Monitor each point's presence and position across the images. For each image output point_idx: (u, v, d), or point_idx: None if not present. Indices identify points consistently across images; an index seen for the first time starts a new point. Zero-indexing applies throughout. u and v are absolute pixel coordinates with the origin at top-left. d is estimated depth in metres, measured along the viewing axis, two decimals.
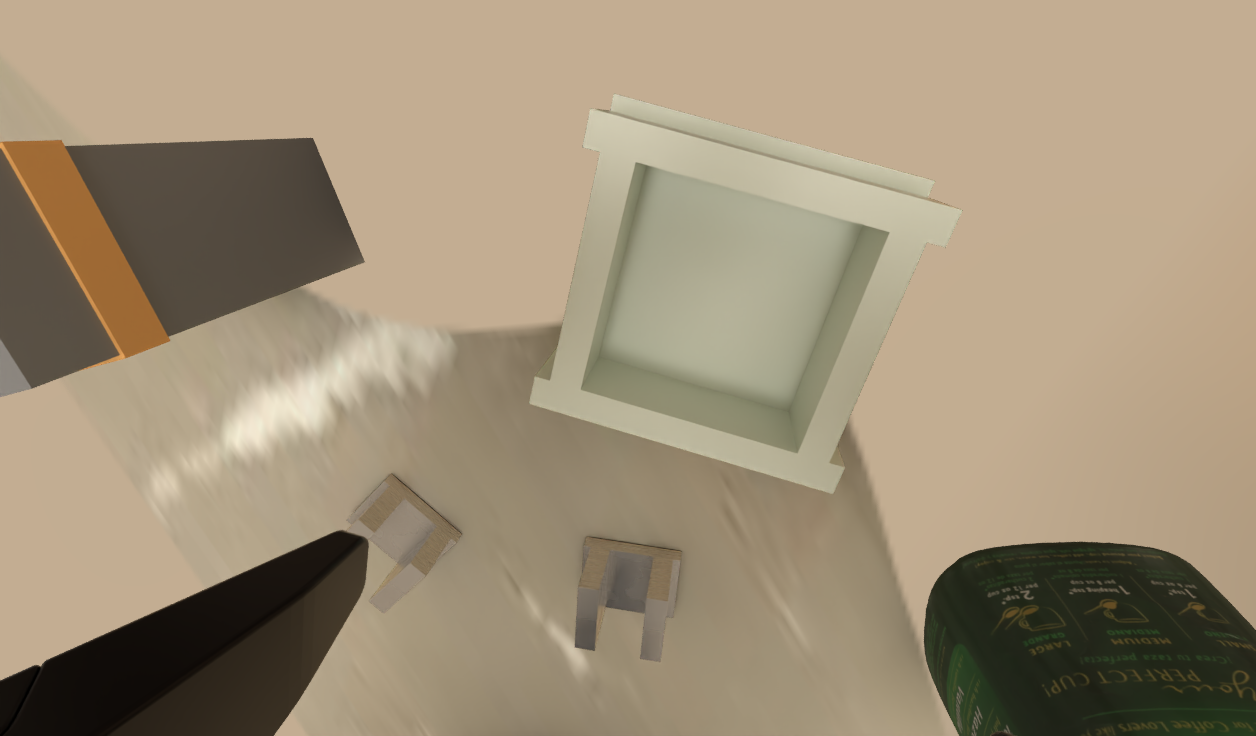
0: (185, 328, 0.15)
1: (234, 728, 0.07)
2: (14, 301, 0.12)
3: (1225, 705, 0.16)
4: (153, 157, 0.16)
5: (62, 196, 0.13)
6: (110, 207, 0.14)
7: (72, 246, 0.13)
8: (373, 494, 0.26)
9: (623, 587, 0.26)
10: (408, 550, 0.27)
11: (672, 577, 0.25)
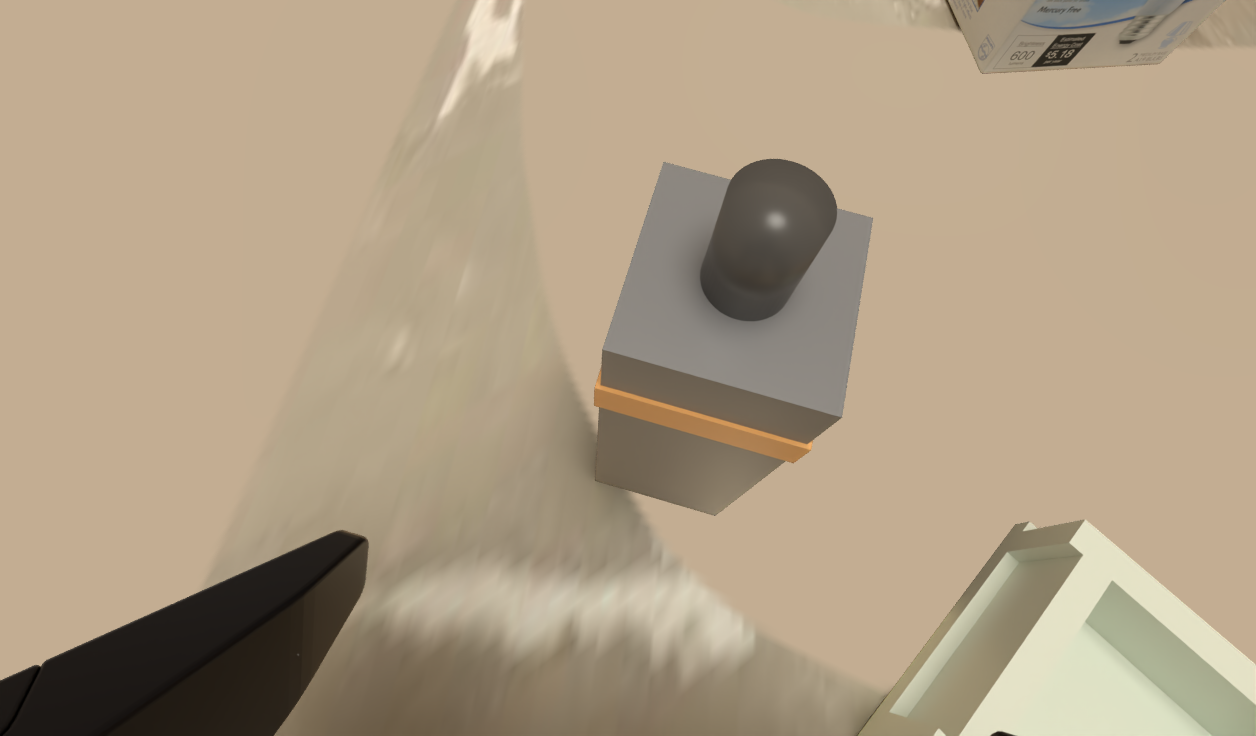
0: (782, 462, 0.15)
1: (234, 728, 0.07)
2: None
3: None
4: None
5: None
6: None
7: None
8: None
9: None
10: None
11: None
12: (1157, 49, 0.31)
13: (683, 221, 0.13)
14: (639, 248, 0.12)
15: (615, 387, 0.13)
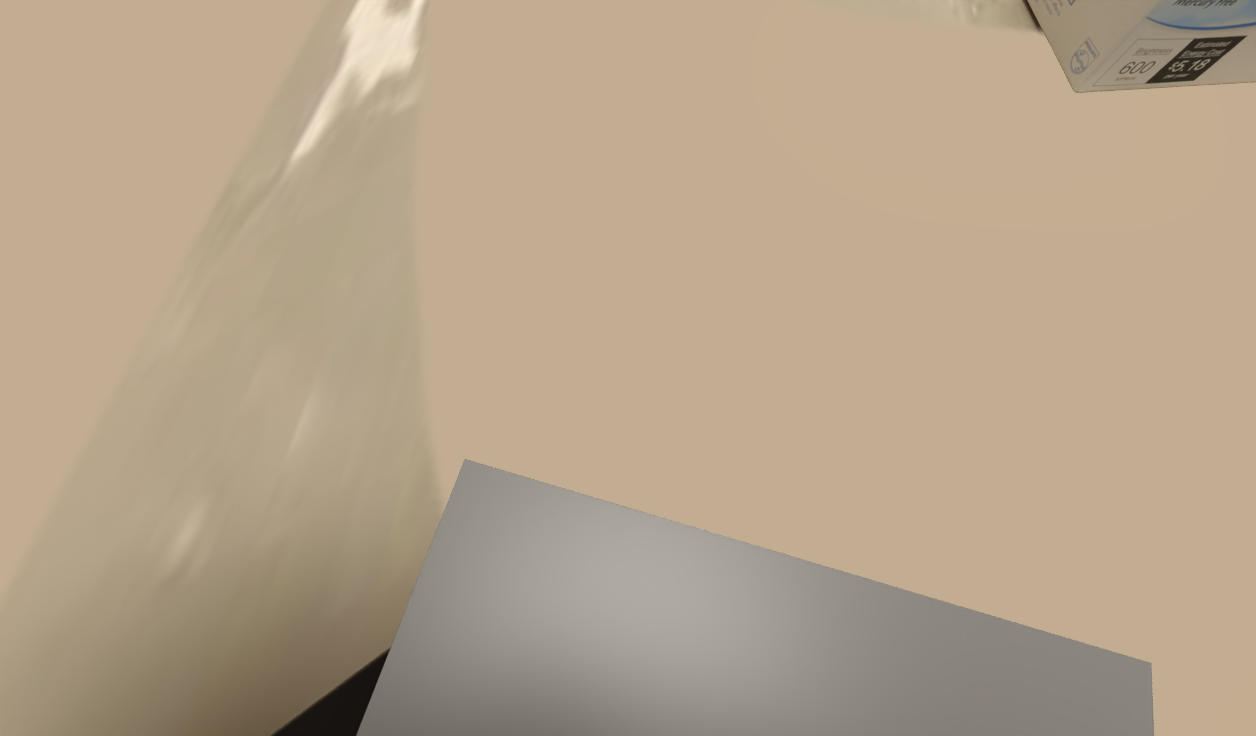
0: None
1: None
2: None
3: None
4: None
5: None
6: None
7: None
8: None
9: None
10: None
11: None
12: None
13: (503, 712, 0.04)
14: None
15: None
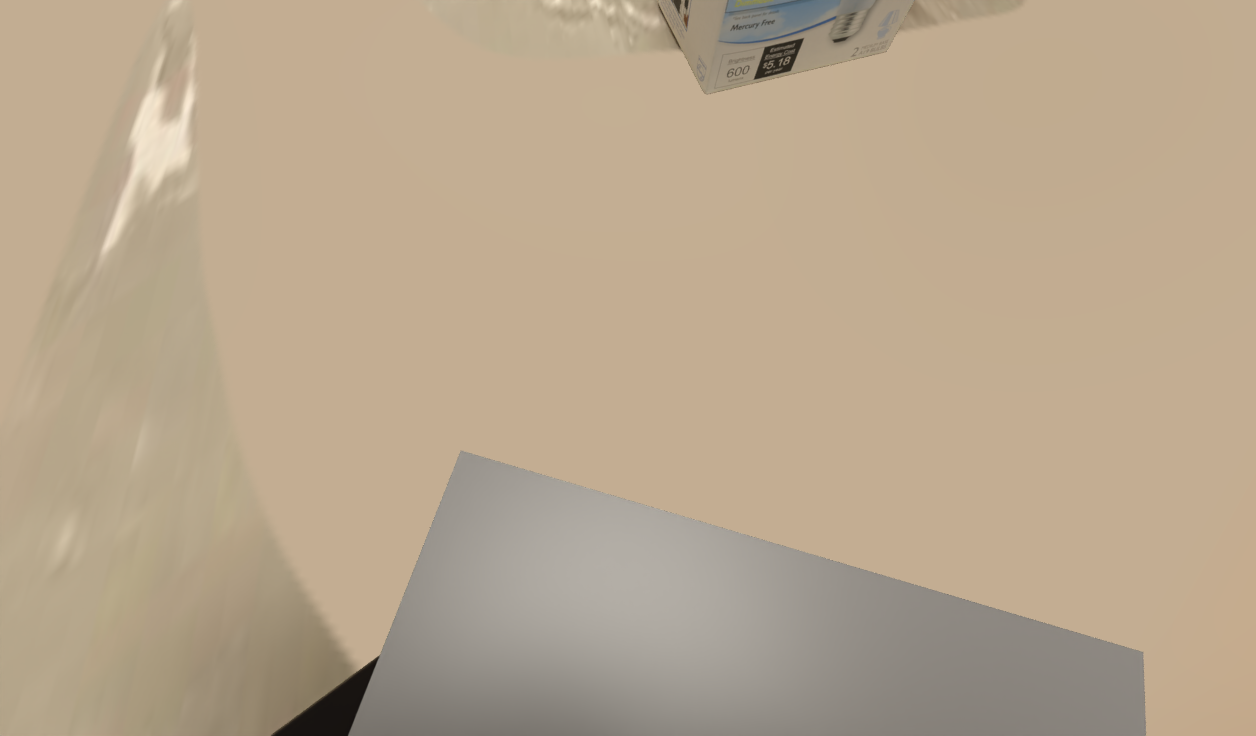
0: None
1: None
2: None
3: None
4: None
5: None
6: None
7: None
8: None
9: None
10: None
11: None
12: (877, 40, 0.30)
13: (499, 701, 0.04)
14: None
15: None
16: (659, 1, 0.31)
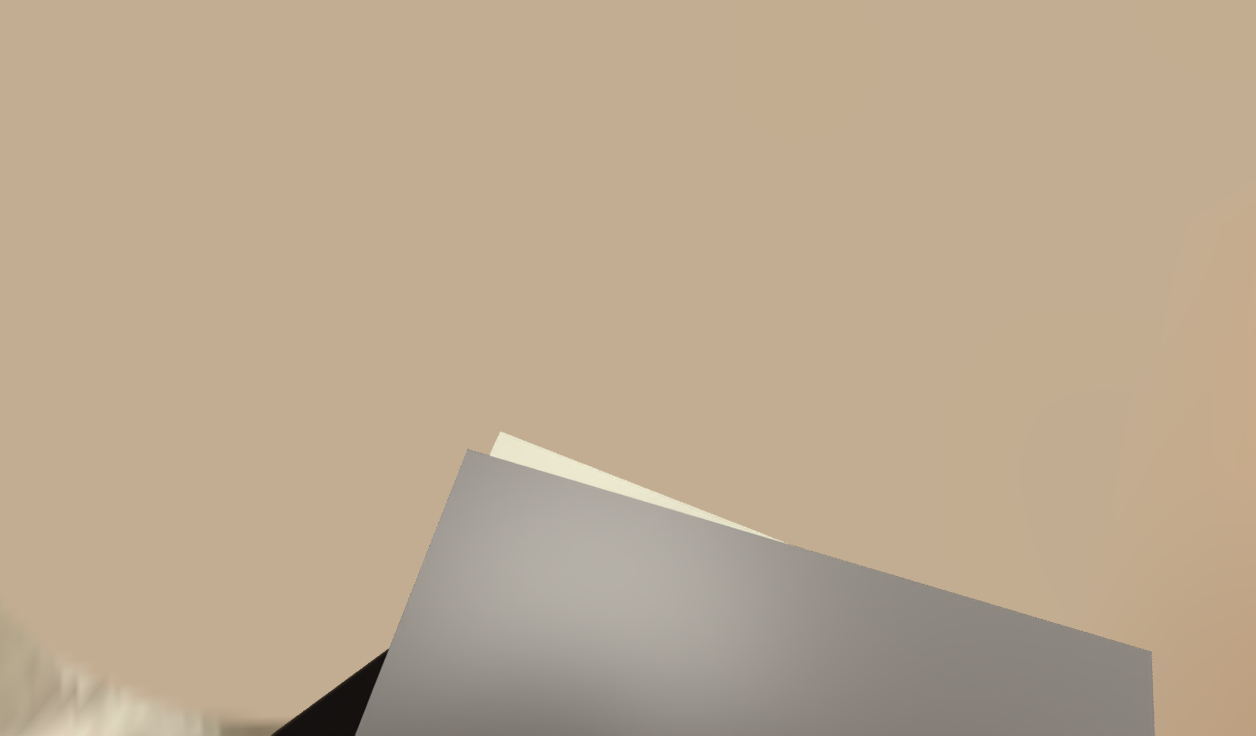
0: None
1: None
2: None
3: None
4: None
5: None
6: None
7: None
8: None
9: None
10: None
11: None
12: None
13: (506, 700, 0.04)
14: None
15: None
16: None
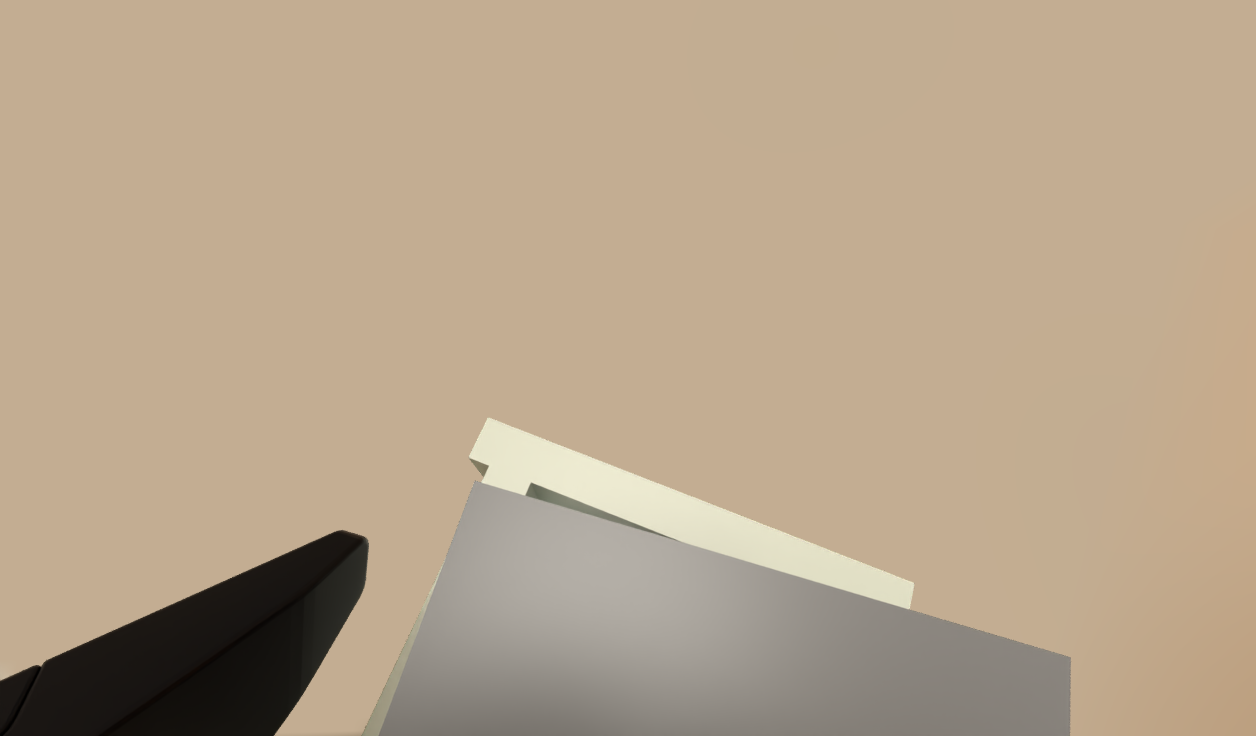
0: None
1: (234, 728, 0.07)
2: None
3: None
4: None
5: None
6: None
7: None
8: None
9: None
10: None
11: None
12: None
13: (509, 700, 0.04)
14: None
15: None
16: None
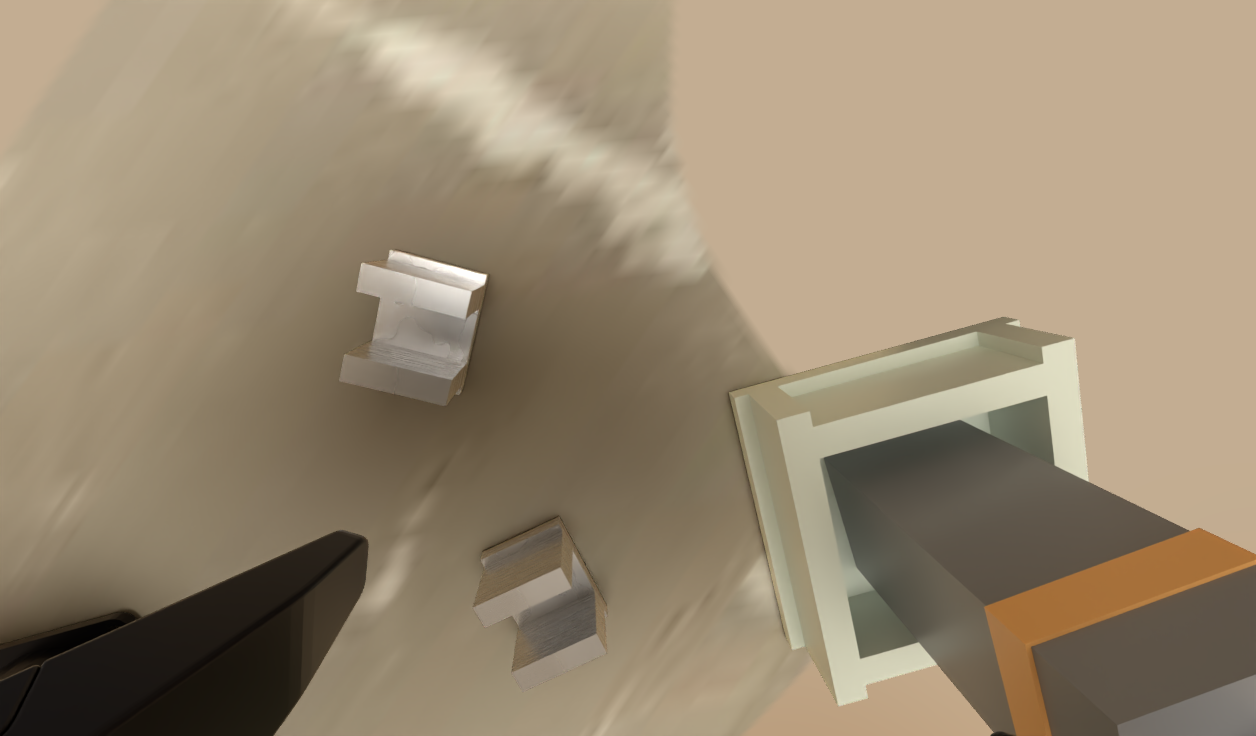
0: None
1: (234, 728, 0.07)
2: None
3: None
4: None
5: None
6: None
7: None
8: (457, 269, 0.19)
9: None
10: (402, 345, 0.20)
11: None
12: None
13: None
14: (1255, 680, 0.10)
15: (1035, 659, 0.12)
16: None
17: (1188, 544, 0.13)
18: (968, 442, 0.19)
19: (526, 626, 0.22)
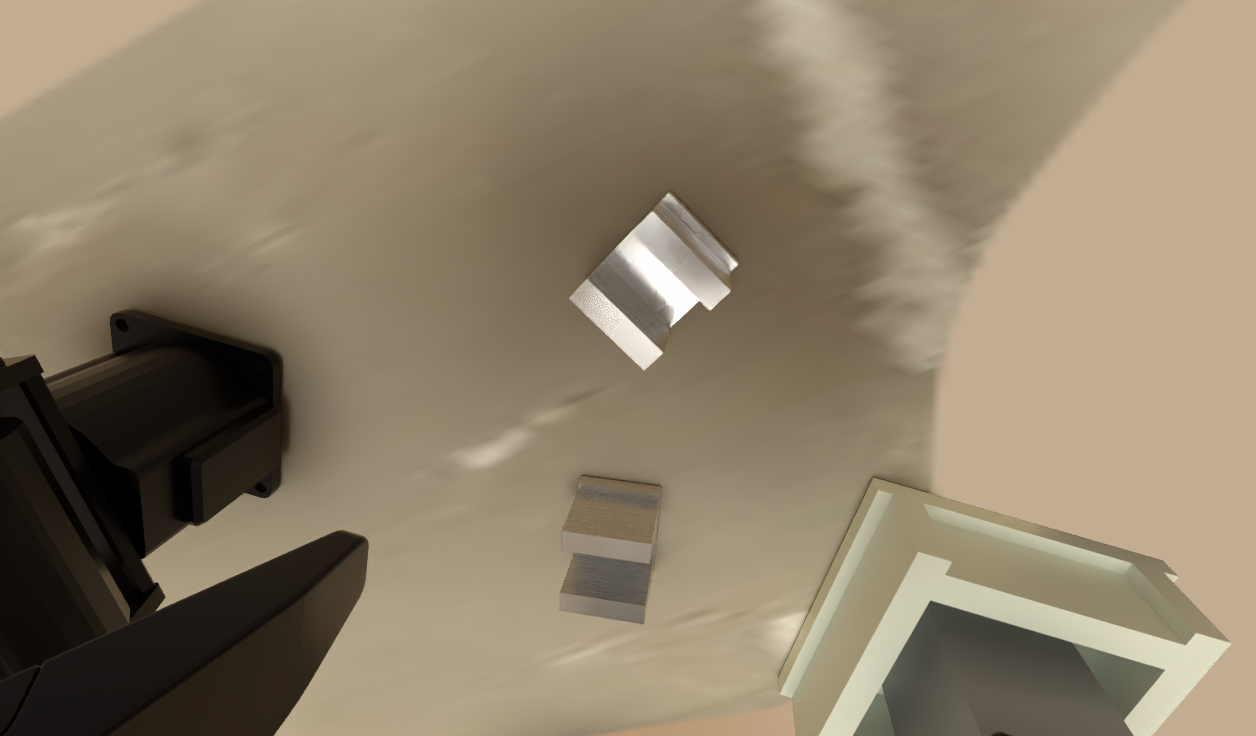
0: None
1: (234, 728, 0.07)
2: None
3: None
4: None
5: None
6: None
7: None
8: (715, 244, 0.19)
9: None
10: (626, 280, 0.20)
11: None
12: None
13: None
14: None
15: None
16: None
17: None
18: (1062, 657, 0.19)
19: (583, 554, 0.23)
